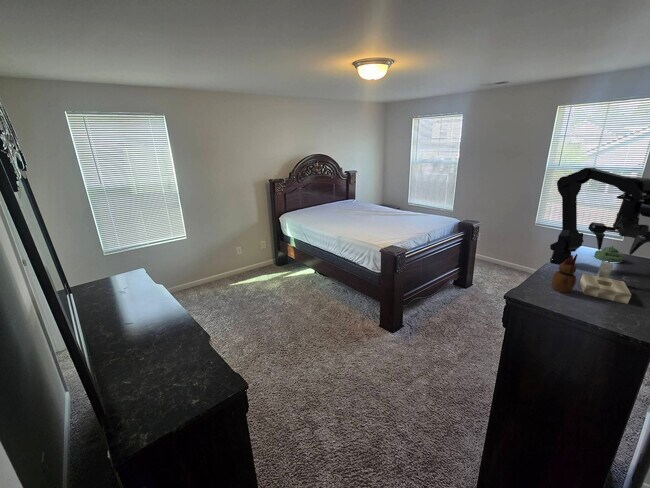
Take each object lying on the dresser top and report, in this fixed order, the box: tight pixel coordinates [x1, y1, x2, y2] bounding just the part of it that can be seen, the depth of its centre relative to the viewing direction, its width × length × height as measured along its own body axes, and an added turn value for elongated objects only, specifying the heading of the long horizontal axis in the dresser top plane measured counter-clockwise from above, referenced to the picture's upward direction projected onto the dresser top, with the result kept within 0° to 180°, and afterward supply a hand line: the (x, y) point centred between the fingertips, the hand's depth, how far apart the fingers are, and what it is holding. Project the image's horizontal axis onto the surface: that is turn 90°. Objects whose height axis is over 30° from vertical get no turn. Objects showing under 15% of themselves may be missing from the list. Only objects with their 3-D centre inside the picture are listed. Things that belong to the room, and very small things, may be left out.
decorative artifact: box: [593, 245, 624, 262], centre depth 143 cm, size 10×7×10 cm
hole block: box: [579, 273, 632, 305], centre depth 112 cm, size 12×12×4 cm
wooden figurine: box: [551, 253, 578, 294], centre depth 111 cm, size 7×6×15 cm
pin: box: [596, 261, 614, 279], centre depth 119 cm, size 3×3×8 cm
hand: (614, 252), depth 117 cm, fingers open, 9 cm apart
